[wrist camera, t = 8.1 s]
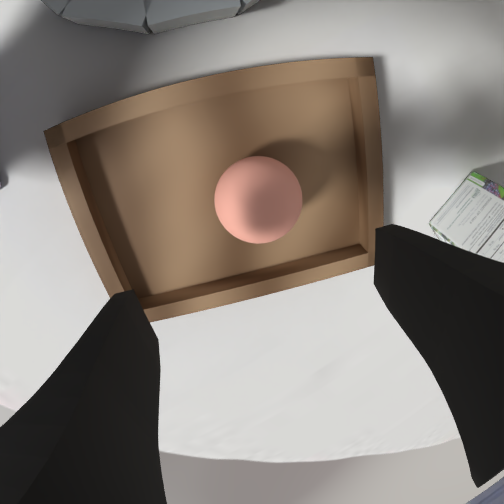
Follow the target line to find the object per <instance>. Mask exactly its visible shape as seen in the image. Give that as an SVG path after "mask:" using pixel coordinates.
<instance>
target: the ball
mask: <svg viewBox="0 0 504 504" xmlns="http://www.w3.org/2000/svg"><path fill="white" fill-rule="evenodd" d="M214 202H215V210H216V213H217V216H218V218H219V220H220V222H221V224H222V225H223V226H224V228H225V229H226V230H227V231H228V232H229V233H230V234H232V235H233V236H234V237H236V238H238V239H240V240H242V241H246V242H249V243H256V244H259V243H268V242H272V241H275V240H277V239H279V238H281V237H283V236H284V235H285V234H287V233H288V232H289V231H290V230H291V229H292V228H293V226H294V225H295V223H296V222H297V220H298V218H299V216H300V213H301V209H302V190H301V187H300V184H299V182H298V180H297V178H296V176H295V175H294V173H293V172H292V171H291V170H290V169H289V168H288V167H287V166H286V165H284V164H283V163H281V162H280V161H278V160H275V159H273V158H269V157H265V156H252V157H247V158H244V159H241V160H239V161H237V162H235V163H234V164H232V165H231V166H230V167H229V168H228V169H227V170H226V171H225V172H224V173H223V174H222V176H221V178H220V179H219V181H218V184H217V186H216V190H215V198H214Z"/></svg>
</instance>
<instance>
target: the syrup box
mask: <svg viewBox="0 0 504 504" xmlns="http://www.w3.org/2000/svg"><path fill="white" fill-rule="evenodd" d="M429 225H430V226H431V228H432V229H433V231H434V232H435V234H436V236H437V237H438V239H439V240H440V241H443V242H446V243H448V244H451V245H454V246H456V247H459V248H461V249H464V250H467V251H470V252H473V253H475V254H478V255H481V256H484V257H487V258H490V259H493V260H496V261H500V262H503V263H504V188H503V187H502V186H500V185H498V184H496V183H494V182H493V181H491V180H489V179H487V178H485V177H483V176H481V175H480V174H478V173H476V172H472V173H470V174H469V176H468V177H467V178H466V179H465V181H464V182H463V183H462V184H461V185H460V187H459V188H458V189H457V190H456V191H455V193H454V194H453V195H452V196H451V197H450V199H449V200H448V201H447V202H446V203H445V205H444V206H443V207H442V208H441V209H440V210H439V212H438V213H437V214H436V215H435V216H434V218H433V219H432V220H431V221H430V222H429Z"/></svg>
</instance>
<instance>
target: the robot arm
mask: <svg viewBox="0 0 504 504" xmlns="http://www.w3.org/2000/svg"><path fill="white" fill-rule="evenodd" d="M0 188H1V183H0ZM374 285H375V287H376V289H377V290H378V292H379V294H380V296H381V298H382V300H383V301H384V303H385V305H386V307H387V308H388V310H389V311H390V313H391V314H392V315H393V317H394V318H395V320H396V321H397V322H398V324H399V325H400V326H401V328H402V329H403V330H404V332H405V333H406V335H407V336H408V337H409V339H410V340H411V341H412V343H413V344H414V346H415V347H416V348H417V350H418V351H419V353H420V354H421V355H422V357H423V358H424V360H425V361H426V363H427V364H428V366H429V368H430V369H431V371H432V373H433V375H434V377H435V379H436V381H437V383H438V385H439V386H440V388H441V390H442V392H443V395H444V397H445V399H446V401H447V403H448V406H449V408H450V410H451V413H452V415H453V417H454V420H455V423H456V425H457V428H458V431H459V434H460V436H461V439H462V442H463V445H464V449H465V452H466V456H467V459H468V463H469V467H470V472H471V477H472V479H473V481H474V483H475V485H476V486H477V487H478V488H479V487H480V486H482V485H483V484H485V483H486V482H487V481H489V480H490V479H492V478H493V477H494V476H496V475H497V474H498V473H500V472H501V471H502V470H504V263H503V262H500V261H496V260H493V259H490V258H487V257H484V256H481V255H478V254H475V253H473V252H470V251H467V250H464V249H461V248H459V247H456V246H454V245H451V244H448V243H446V242H443V241H440V240H438V239H435V238H433V237H430V236H427V235H425V234H422V233H419V232H417V231H414V230H411V229H408V228H405V227H402V226H398V225H394V224H391V225H387V226H383V227H379V228H375V266H374ZM159 391H160V355H159V342H158V338H157V336H156V334H155V332H154V330H153V328H152V326H151V324H150V322H149V320H148V318H147V316H146V314H145V312H144V310H143V308H142V306H141V304H140V302H139V300H138V298H137V296H136V294H135V291H134V289H132V290H128V291H124V292H120V293H116V294H114V295H113V296H112V297H111V298H110V299H109V301H108V302H107V303H106V304H105V306H104V307H103V308H102V310H101V311H100V312H99V313H98V315H97V316H96V317H95V319H94V320H93V321H92V323H91V324H90V325H89V327H88V328H87V330H86V331H85V332H84V334H83V335H82V336H81V338H80V339H79V340H78V342H77V343H76V344H75V346H74V347H73V348H72V349H71V351H70V352H69V353H68V354H67V356H66V357H65V358H64V360H63V361H62V362H61V364H60V365H59V366H58V367H57V369H56V370H55V371H54V372H53V374H52V375H51V376H50V377H49V378H48V379H47V381H46V382H45V383H44V384H43V385H42V386H41V387H40V388H39V390H38V391H37V392H36V393H35V394H34V395H33V396H32V397H31V398H30V399H29V400H28V401H27V402H26V403H25V404H24V405H23V406H22V407H21V408H20V409H19V410H18V411H17V412H16V413H15V414H14V415H13V416H12V417H11V418H10V419H9V420H8V421H7V422H6V423H5V424H4V425H2V426H1V427H0V504H167V502H166V497H165V491H164V485H163V480H162V473H161V465H160V457H159V448H158V416H159ZM466 504H504V477H503V478H501V479H500V480H499V481H498V482H496V483H495V484H493V485H492V486H491V487H489V488H488V489H487V490H485V491H484V492H482V493H481V494H479V495H478V496H476V497H475V498H473V499H472V500H470V501H469V502H467V503H466Z"/></svg>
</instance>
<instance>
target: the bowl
mask: <svg viewBox="0 0 504 504" xmlns="http://www.w3.org/2000/svg"><path fill="white" fill-rule="evenodd" d="M41 1H42V2H43V3H44V4H46V5H47V6H48V7H49V8H50V9H51V10H52V11H54V12H55V13H56V14H57V15H59V16H61V17H63V18H66V19H68V20H70V21H72V22H74V23H77V24H81V25H91V26H100V27H108V28H115V29H121V30H128V31H134V32H139V33H145V34H149V33H150V30H152V31H153V33H154V34H156V33H160V32H164V31H168V30H172V29H176V28H180V27H184V26H188V25H193V24H198V23H202V22H207V21H213V20H218V19H224V18H230V17H234V16H235V15H236V13H238V14H239V15H240V14H241V13H243V12H244V11H245V10H247V9H248V8H250V7H251V6H253V5H254V4H256V3H257V2H259V1H260V0H41Z"/></svg>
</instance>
